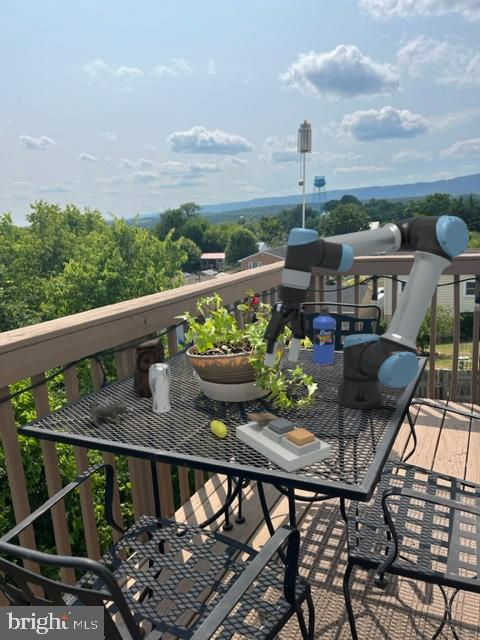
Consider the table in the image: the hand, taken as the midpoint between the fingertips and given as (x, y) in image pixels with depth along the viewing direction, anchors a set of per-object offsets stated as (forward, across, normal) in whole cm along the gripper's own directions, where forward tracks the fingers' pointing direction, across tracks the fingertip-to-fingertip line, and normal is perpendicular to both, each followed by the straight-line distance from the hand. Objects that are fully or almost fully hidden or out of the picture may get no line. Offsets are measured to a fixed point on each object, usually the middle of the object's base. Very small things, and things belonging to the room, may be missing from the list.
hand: (281, 363), depth 131 cm
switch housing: (+22, 0, +5) cm, 23 cm away
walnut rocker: (+18, -2, -3) cm, 18 cm away
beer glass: (+27, -2, -42) cm, 49 cm away
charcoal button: (+18, +1, +4) cm, 18 cm away
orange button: (+18, +4, +12) cm, 22 cm away
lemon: (+25, +3, -14) cm, 29 cm away
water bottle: (+12, -76, -19) cm, 79 cm away
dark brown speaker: (+27, -11, -57) cm, 64 cm away
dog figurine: (+30, +14, -48) cm, 58 cm away
